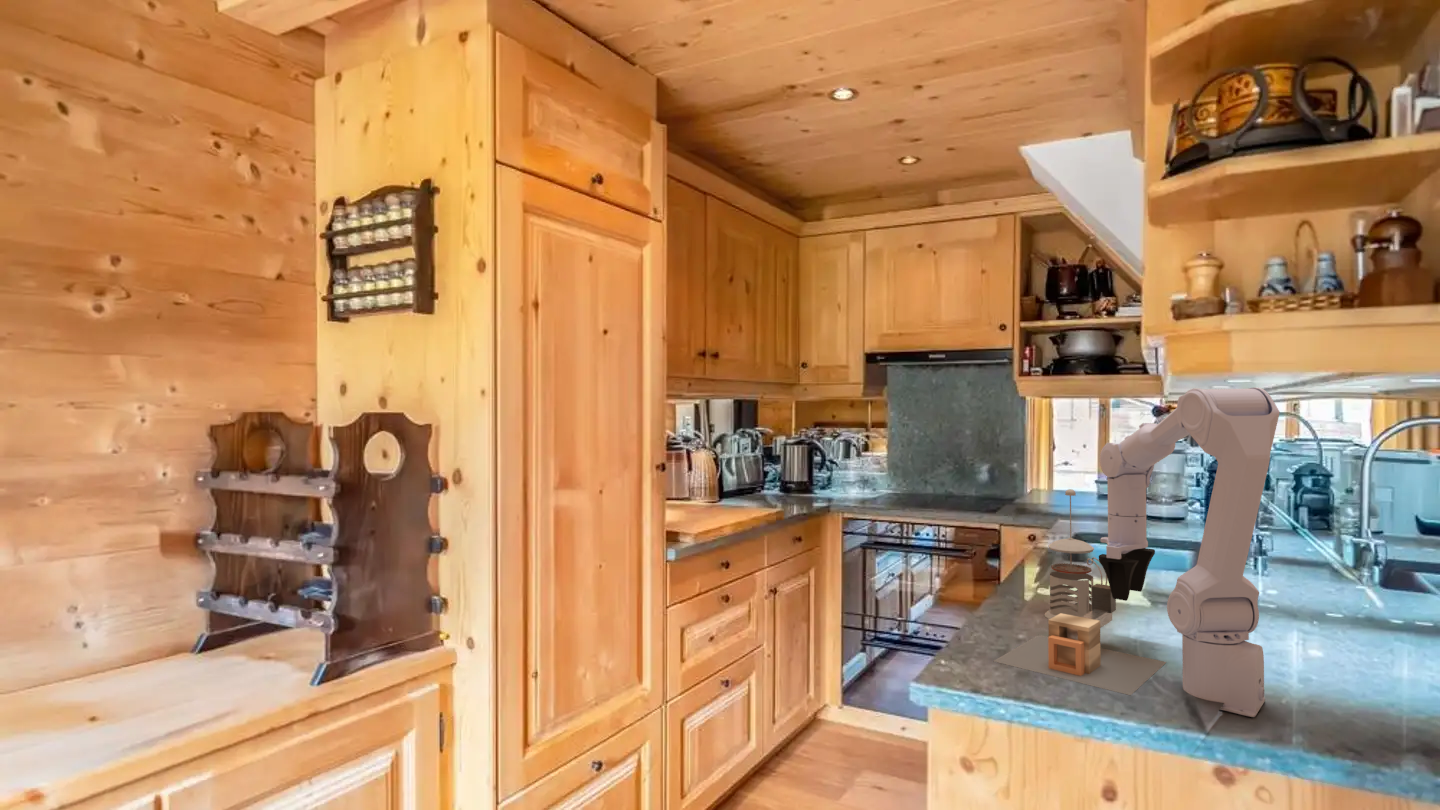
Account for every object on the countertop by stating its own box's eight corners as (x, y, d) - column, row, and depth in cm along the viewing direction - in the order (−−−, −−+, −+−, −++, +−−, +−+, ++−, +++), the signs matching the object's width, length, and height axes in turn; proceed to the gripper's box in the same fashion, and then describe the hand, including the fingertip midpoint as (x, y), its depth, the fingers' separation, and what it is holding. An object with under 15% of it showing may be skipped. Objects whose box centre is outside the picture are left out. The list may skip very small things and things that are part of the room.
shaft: (1115, 620, 126) (1115, 586, 126) (1083, 642, 115) (1083, 605, 115) (1097, 616, 128) (1096, 583, 128) (1063, 637, 117) (1063, 601, 117)
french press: (1062, 607, 152) (1061, 485, 152) (1119, 621, 142) (1118, 490, 142) (1033, 615, 146) (1032, 488, 146) (1090, 630, 137) (1089, 494, 136)
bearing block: (1100, 665, 116) (1100, 620, 116) (1089, 674, 113) (1088, 627, 113) (1061, 656, 120) (1060, 613, 120) (1048, 664, 117) (1048, 620, 117)
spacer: (1084, 673, 113) (1084, 641, 113) (1081, 675, 112) (1080, 644, 112) (1052, 665, 116) (1051, 635, 116) (1048, 668, 115) (1048, 637, 115)
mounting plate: (1166, 668, 117) (1166, 661, 117) (1130, 702, 105) (1130, 695, 105) (1038, 640, 131) (1038, 634, 131) (993, 667, 119) (992, 661, 119)
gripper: (1115, 507, 134) (1116, 582, 134) (1086, 517, 123) (1087, 599, 123) (1159, 511, 129) (1160, 589, 129) (1133, 521, 118) (1134, 607, 118)
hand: (1127, 594), depth 126 cm, fingers open, 7 cm apart
